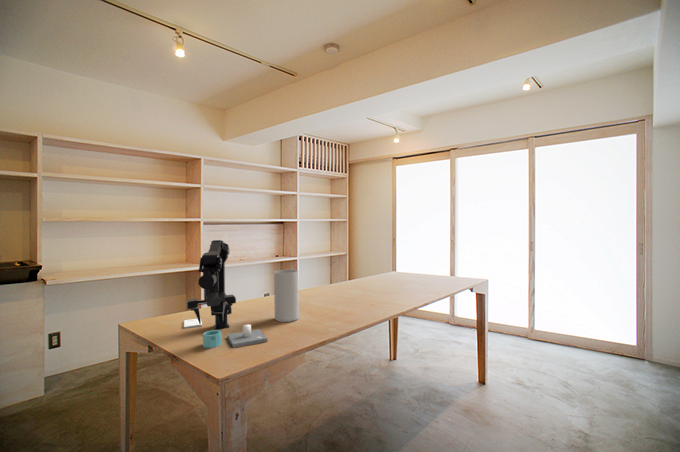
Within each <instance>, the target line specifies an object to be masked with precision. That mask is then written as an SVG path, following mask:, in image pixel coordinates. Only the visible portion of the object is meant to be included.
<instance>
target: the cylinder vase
mask: <svg viewBox="0 0 680 452" xmlns="http://www.w3.org/2000/svg"><path fill="white" fill-rule="evenodd" d="M273 282H274V283H273V289H274V290H273V293H274V294H273V296H274V298H273V299H274V303H273V304H274V319H275V321H277V322H279V323H280V322H281V323H291V322H295V321H297V320H298V319H300V304H299V301H300V300H299V299H300V298H299V295H300V293H299V290H300V289H299V288H300V287H299V270H298V269H279V270H275V271H273Z"/></svg>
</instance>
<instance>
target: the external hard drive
mask: <svg viewBox="0 0 680 452" xmlns="http://www.w3.org/2000/svg"><path fill="white" fill-rule="evenodd" d="M200 320H201V324H199V321H198V318H192V319H191V318H190V319H185V320H183V330H186V329H192V328H193V329H194V328H199V327H200V328H201V327H203V323H202V318H201V317H200Z"/></svg>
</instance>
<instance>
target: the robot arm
mask: <svg viewBox="0 0 680 452" xmlns="http://www.w3.org/2000/svg"><path fill="white" fill-rule="evenodd" d="M229 255H230V246H229V244H227V243H226V242H224V240H222V239H220V240H219V239H217V240H216V239H215V240H211V243H210V245H209V249H208V251H207V252H204V253H203V254H202V255H201V257H200V258H199V266H198V267H199V268H198V273H202V275H201V276H200V277H199V279H198V283H197V284H198V286H199V287H200V288H201V289H203V299H200V300H198V298H189V299H187V300H186V301H185V302H186V309H188V310H190V311H192V312H194V314H195V316H196V319H198V321H199V324H201V322H202V319H201V320H200V318H201V315H200V307H199V306H203V305H206V306H207V307H209V308H210V313H211V314H210V315H211V316H213V317H214V324H213V328H214V329H215V330H220V329H224V328H229V327H230V324H229V323H228V321H229V319H228V315H231V314H232V311H233V310H232V306H233V305H234V304H236V303H237V299H236V296H235V295H234V294H227V293H226V262H227V260H228V259H229Z"/></svg>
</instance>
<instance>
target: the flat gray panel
mask: <svg viewBox="0 0 680 452" xmlns="http://www.w3.org/2000/svg"><path fill="white" fill-rule="evenodd" d="M227 339H228V341H229V343H230V345H231V347H232V348H233V349H235V347H236V348H240V347H245V346H251V345H257V344H263V343H268V337H267V336H266V334H264V333H263V332H262V331H261V329H260V328H258V329H252V324H244V325H242V331H239V332H235V333H234V332H233V333H227Z"/></svg>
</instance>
